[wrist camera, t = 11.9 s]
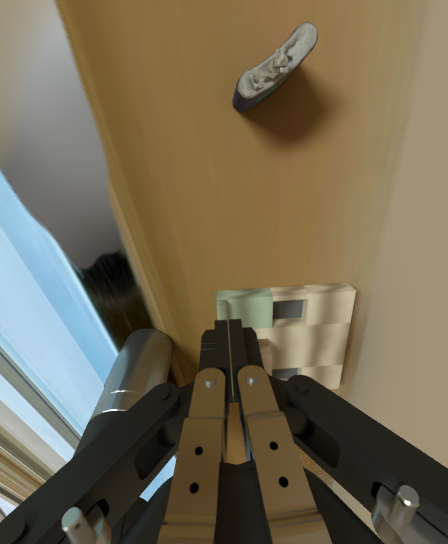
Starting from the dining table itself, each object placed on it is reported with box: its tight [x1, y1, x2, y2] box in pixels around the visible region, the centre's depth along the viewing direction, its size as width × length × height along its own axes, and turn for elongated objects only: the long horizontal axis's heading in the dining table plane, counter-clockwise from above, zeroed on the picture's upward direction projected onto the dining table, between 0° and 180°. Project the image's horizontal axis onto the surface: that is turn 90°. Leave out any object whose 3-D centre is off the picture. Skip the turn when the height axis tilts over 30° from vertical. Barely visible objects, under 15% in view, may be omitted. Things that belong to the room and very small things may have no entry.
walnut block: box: [258, 338, 272, 376], centre depth 47 cm, size 6×6×4 cm
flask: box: [232, 22, 318, 112], centre depth 29 cm, size 9×3×11 cm, turn 126°
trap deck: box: [217, 283, 356, 396], centre depth 50 cm, size 24×23×4 cm
